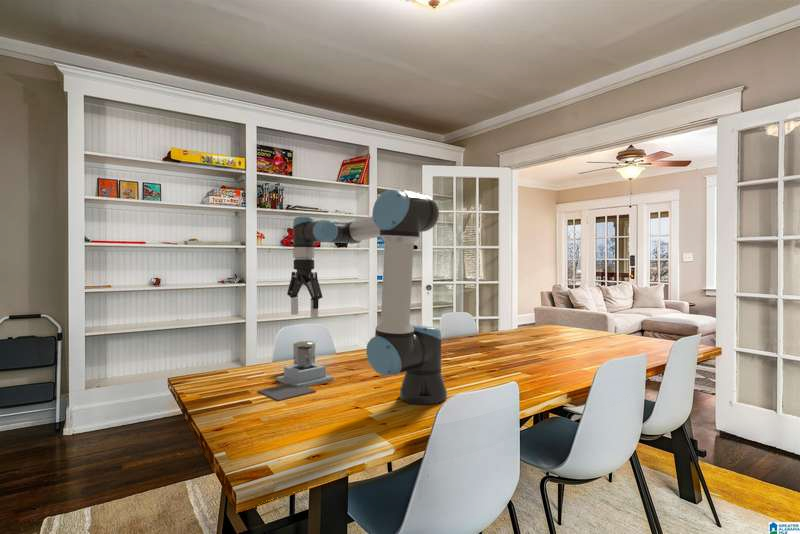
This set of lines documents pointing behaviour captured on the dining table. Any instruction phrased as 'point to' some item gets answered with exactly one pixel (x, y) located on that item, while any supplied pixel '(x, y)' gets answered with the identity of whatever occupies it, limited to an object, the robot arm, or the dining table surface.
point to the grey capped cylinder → (304, 355)
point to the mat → (286, 391)
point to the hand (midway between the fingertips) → (304, 316)
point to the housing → (304, 376)
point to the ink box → (312, 352)
